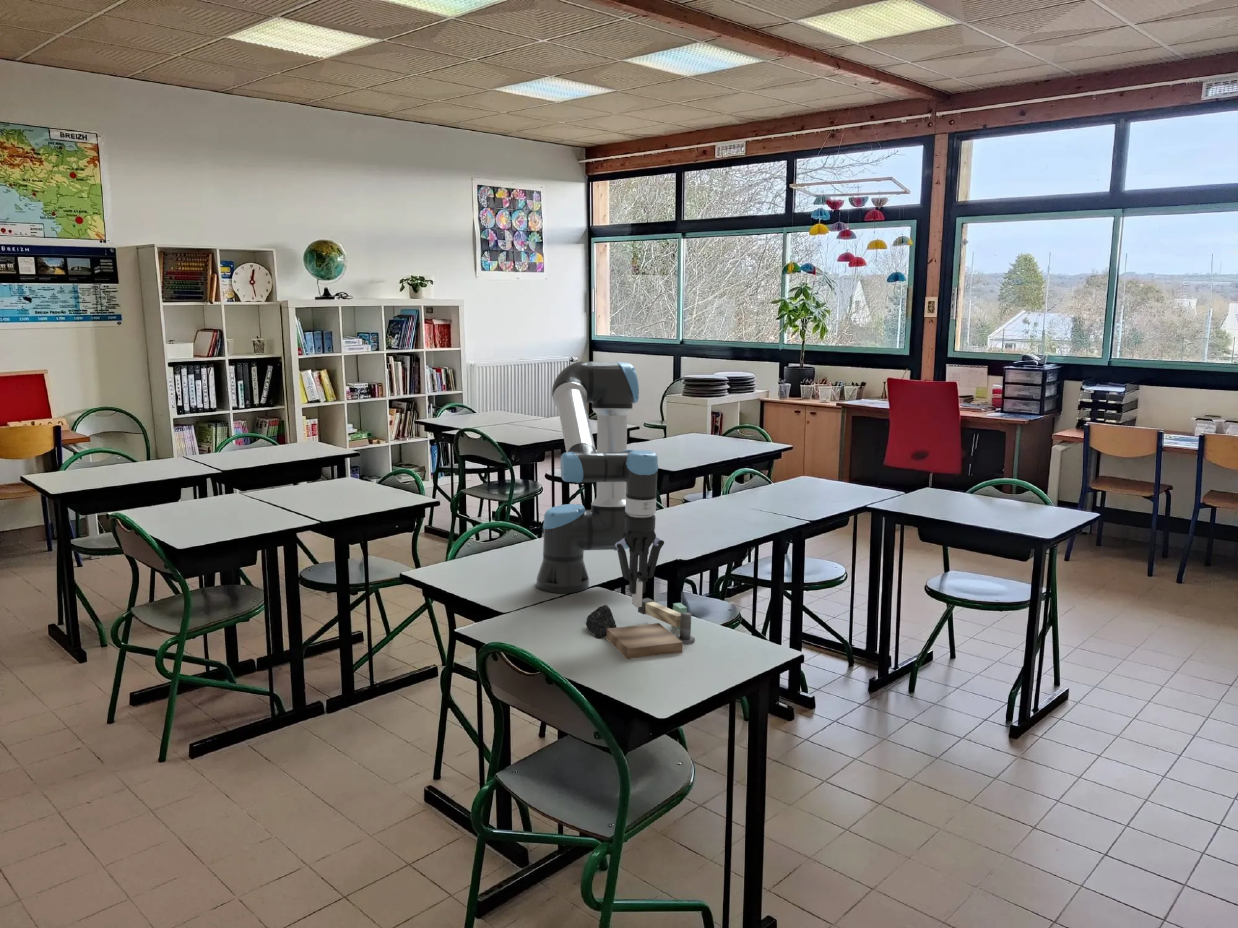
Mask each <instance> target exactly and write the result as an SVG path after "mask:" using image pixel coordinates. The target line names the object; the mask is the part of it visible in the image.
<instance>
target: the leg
mask: <svg viewBox="0 0 1238 928" xmlns="http://www.w3.org/2000/svg"><path fill="white" fill-rule="evenodd" d="M637 613H640V614H642V615H647V616H650V617H652V618H654V619H656V620H658V621H661V622H664V623H666V624H668V625H670V626H673V627H674V628H675V627H680V621H681V613H679V612H677V611H674V610H673V608H672V609H671V608H669V607H667V606H665V605H662V604H660V603H658V602H655V601H654V599H651V598H649V597H645V598H642V607H637Z"/></svg>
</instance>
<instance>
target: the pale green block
mask: <svg viewBox="0 0 1238 928" xmlns="http://www.w3.org/2000/svg"><path fill="white" fill-rule="evenodd" d="M672 610H674V611H677V612H679V613H683V612H688V607H687V606H686V605H684V604H682V603H681V602H675V603H672ZM674 628H675V629H676V630H678V631H680V627H674Z"/></svg>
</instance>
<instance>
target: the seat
mask: <svg viewBox="0 0 1238 928" xmlns="http://www.w3.org/2000/svg"><path fill="white" fill-rule="evenodd" d="M691 628H692V613H691V612H688V611H687V612H683V613H681V621H680V630H679V634H678V635H675V634H673V633H672V632H671V631H669V630H668V629H667V628H666V627H664V626H663V625H662V624H661V623H659V622H655V623H649V624H648V623H647V624H646V623H645V624H639V625H638V624H637V625H629V626H619V627H617V628H608V629H607V633H606V637H605V638H606V640H608V642H609V643H610V644H612V646H614V647H615V649H617V651H619V652H620V653H621V654H622V655H623V656H624V657H625V659H627V660H628V659H629V660H631V659H637V658H638V659H639V658H645V657H646V658H648V657H654V656H664V655H671V654H678V653H683V645H691V644H694V643H695V642H696V638H695V637H694V636H693V635H692V633H691V632H692V629H691Z"/></svg>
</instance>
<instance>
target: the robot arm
mask: <svg viewBox="0 0 1238 928" xmlns="http://www.w3.org/2000/svg"><path fill="white" fill-rule="evenodd" d="M639 386H640V385H639V380H638V374H637V372H636V368H635V367H634V365H632V363H630V362H625V361H624V362H623V361H584V360H583V361H576V362H573V363H571V364H569V365H567V366H566V367H565V368H563V369H562V370H561V371H560V372H559V373H558V374H557V376H556V378H555V380H554V382H553V385H552V388H551V396H552V401H553V403H554V406H555V407H556V408H557V410H558V413H559V414H558V415H559V419H560V424H561V425H560V426H561V431H562V435H563V441H564V446H565V451H566V452H563V453H562V454H561V456H560V468H559V469H560V477H561V479H562V481H564V482H567V483H577V484H580V483H596V498H595V499H594V500H593V501H592V502H591V505H590V506H591V507H590V508H591V509H586V508H585V506H584V505H582V504H579V503H578V504H577V503H576V504H575V503H568V504H567V503H566V504H560V505H556V506H553V507H550V508H548V509H547V510H546V511H545V513H544V516H543V525H542V528H543V545H542V546H543V549H542V551H543V552H542V556H543V557H542V562H541V564H540V567H539V570H538V573H537V576H536V587H537V588H538V589H540V590H542V591H544V592H550V593H555V594H556V593H557V594H569V593H570V594H571V593H572V594H573V593H578V592H583V591H585V590H587V589H588V588H589V586H590V577H589V574H588V571H587V568H586V564H585V561H584V551H585V552H586V551H612V550H613V551H617V555H618V560H619V564H620V565H619V566H620V570H621V571H620V572H621V575H622V577H623V578H624V579H625V580H626V581H629V586H628V587H629V589H628V591H629V592H630V594H631V605H633V606H634V607H636V608H638V607H642V599H643V594H645V593H646V584H647V582H648V581H649V579H652V578H653V577H654V575H655V571H656V568H657V562H658V559H659V556H660V552H661V549H662V548H663V546H664V544H665V541H664V540H663V539H662V538H659V537H657V534H656V532H655V529H656V519H657V518H656V515H655V514H656V511H657V487H658V470H659V464H658V462H659V461H658V459H659V458H658V455H657V453H656V452H655V451H651V450H647V449H637V450H634V449H628V444H627V443H628V415H629V413H631V411H633V404H637V402H638V401H639V397H640V396H639V393H640V388H639ZM586 403H590V404H591V409H592V411H593V412H594V413H595V414H596V416H597V417H596V418H597V419H596V421H597V422H596V423H597V424H596V425H597V426H596V427H597V428H596V430H597V431H596V432H597V433H596V446H595V441H594V440H595V439H594V437H593V436H594V435H593V432H592V427H591V423H590V417H589V412H588V409H587V405H586ZM650 548H651V549H650ZM649 549H650V550H649ZM626 550H628V552H629V561H628V557H627V552H626ZM649 551H650V552H649Z"/></svg>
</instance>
